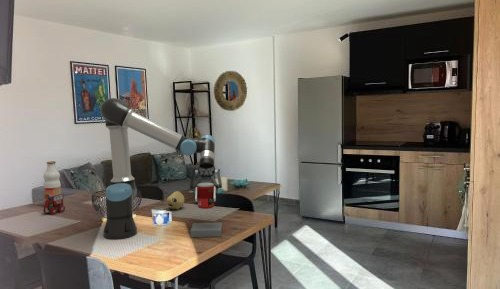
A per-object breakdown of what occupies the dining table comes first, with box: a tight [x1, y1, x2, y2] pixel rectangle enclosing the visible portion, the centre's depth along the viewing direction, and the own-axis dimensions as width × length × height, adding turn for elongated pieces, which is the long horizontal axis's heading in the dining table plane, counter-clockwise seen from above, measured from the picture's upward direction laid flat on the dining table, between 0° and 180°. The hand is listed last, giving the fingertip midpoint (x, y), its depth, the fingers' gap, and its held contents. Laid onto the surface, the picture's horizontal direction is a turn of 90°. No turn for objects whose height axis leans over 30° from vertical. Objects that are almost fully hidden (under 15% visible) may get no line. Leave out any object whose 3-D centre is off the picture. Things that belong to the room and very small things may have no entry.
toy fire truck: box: [42, 193, 66, 215], centre depth 214 cm, size 7×12×10 cm, turn 155°
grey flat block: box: [190, 222, 223, 238], centre depth 175 cm, size 14×12×3 cm
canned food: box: [197, 182, 215, 210], centre depth 174 cm, size 8×8×11 cm
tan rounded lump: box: [164, 190, 185, 211], centre depth 220 cm, size 10×12×11 cm
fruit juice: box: [43, 161, 62, 203], centre depth 231 cm, size 9×9×28 cm
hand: (205, 200), depth 171 cm, fingers closed on canned food, 8 cm apart
